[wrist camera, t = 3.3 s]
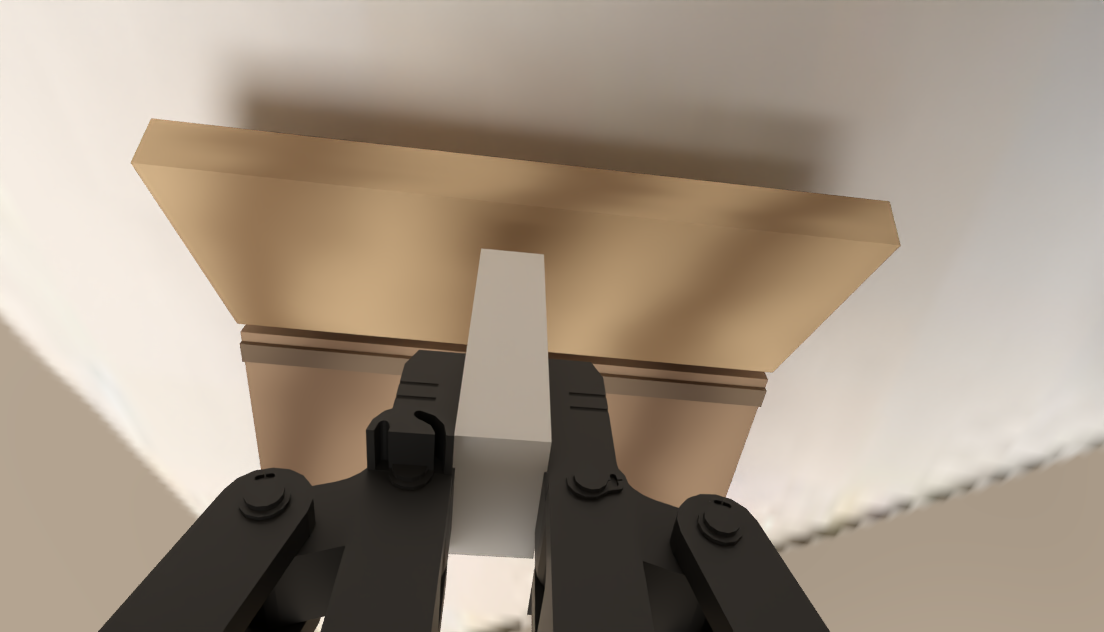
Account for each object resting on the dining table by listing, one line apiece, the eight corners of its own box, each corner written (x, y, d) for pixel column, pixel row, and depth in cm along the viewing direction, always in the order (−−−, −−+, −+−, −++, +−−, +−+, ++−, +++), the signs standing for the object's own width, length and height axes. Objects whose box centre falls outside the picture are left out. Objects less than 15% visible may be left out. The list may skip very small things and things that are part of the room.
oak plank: (889, 201, 19) (900, 245, 18) (768, 337, 26) (772, 372, 25) (151, 118, 17) (130, 162, 16) (248, 288, 25) (237, 323, 24)
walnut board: (757, 357, 27) (769, 382, 26) (704, 510, 32) (712, 539, 30) (255, 310, 26) (238, 334, 24) (277, 478, 30) (264, 507, 29)
